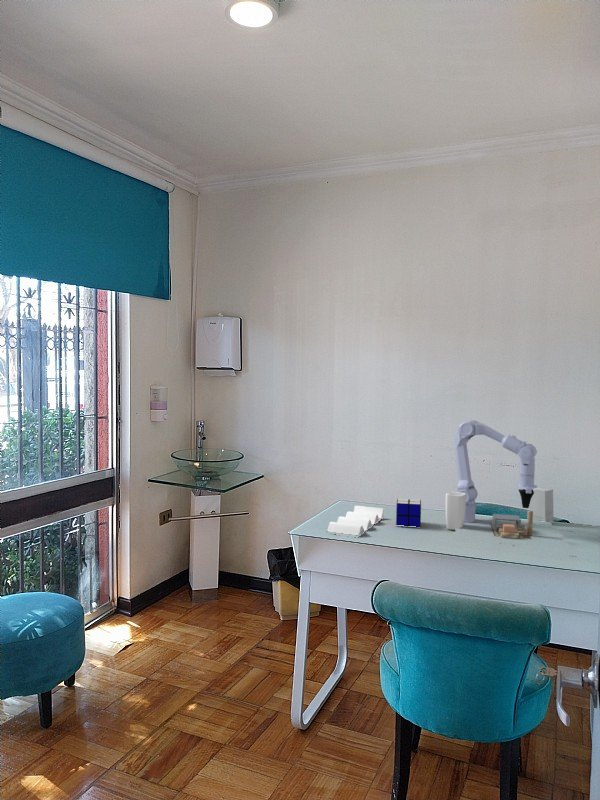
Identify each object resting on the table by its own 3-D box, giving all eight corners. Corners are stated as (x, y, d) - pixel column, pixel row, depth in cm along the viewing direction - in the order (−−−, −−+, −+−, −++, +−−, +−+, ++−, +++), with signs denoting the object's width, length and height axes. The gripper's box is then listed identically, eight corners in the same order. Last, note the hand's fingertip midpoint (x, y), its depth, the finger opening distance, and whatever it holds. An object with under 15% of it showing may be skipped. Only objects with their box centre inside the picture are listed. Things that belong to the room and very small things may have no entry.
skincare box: (553, 523, 270) (554, 489, 269) (544, 525, 267) (546, 490, 266) (536, 519, 277) (537, 486, 276) (528, 521, 274) (529, 487, 273)
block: (503, 536, 242) (504, 526, 241) (502, 533, 246) (503, 523, 245) (514, 537, 241) (515, 527, 241) (513, 534, 245) (513, 524, 245)
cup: (443, 530, 256) (444, 494, 255) (448, 526, 262) (449, 491, 261) (461, 532, 252) (462, 496, 252) (465, 528, 259) (466, 493, 258)
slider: (500, 536, 240) (501, 513, 240) (498, 531, 247) (499, 508, 247) (534, 539, 237) (535, 515, 237) (531, 534, 245) (532, 510, 244)
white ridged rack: (326, 535, 247) (326, 522, 247) (354, 516, 279) (355, 505, 279) (357, 539, 242) (357, 526, 241) (383, 520, 274) (383, 508, 273)
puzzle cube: (396, 526, 260) (396, 503, 260) (396, 521, 270) (397, 498, 269) (420, 528, 258) (421, 504, 258) (420, 522, 268) (420, 499, 268)
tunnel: (494, 531, 249) (494, 518, 249) (492, 526, 257) (492, 513, 257) (520, 533, 247) (520, 520, 247) (517, 528, 255) (518, 515, 255)
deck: (494, 539, 242) (494, 535, 242) (489, 527, 262) (490, 523, 262) (530, 542, 240) (531, 538, 240) (523, 529, 259) (523, 525, 259)
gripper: (540, 478, 244) (538, 512, 245) (534, 472, 258) (533, 504, 259) (521, 476, 246) (519, 511, 247) (516, 471, 260) (515, 503, 261)
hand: (525, 507), depth 253 cm, fingers closed
